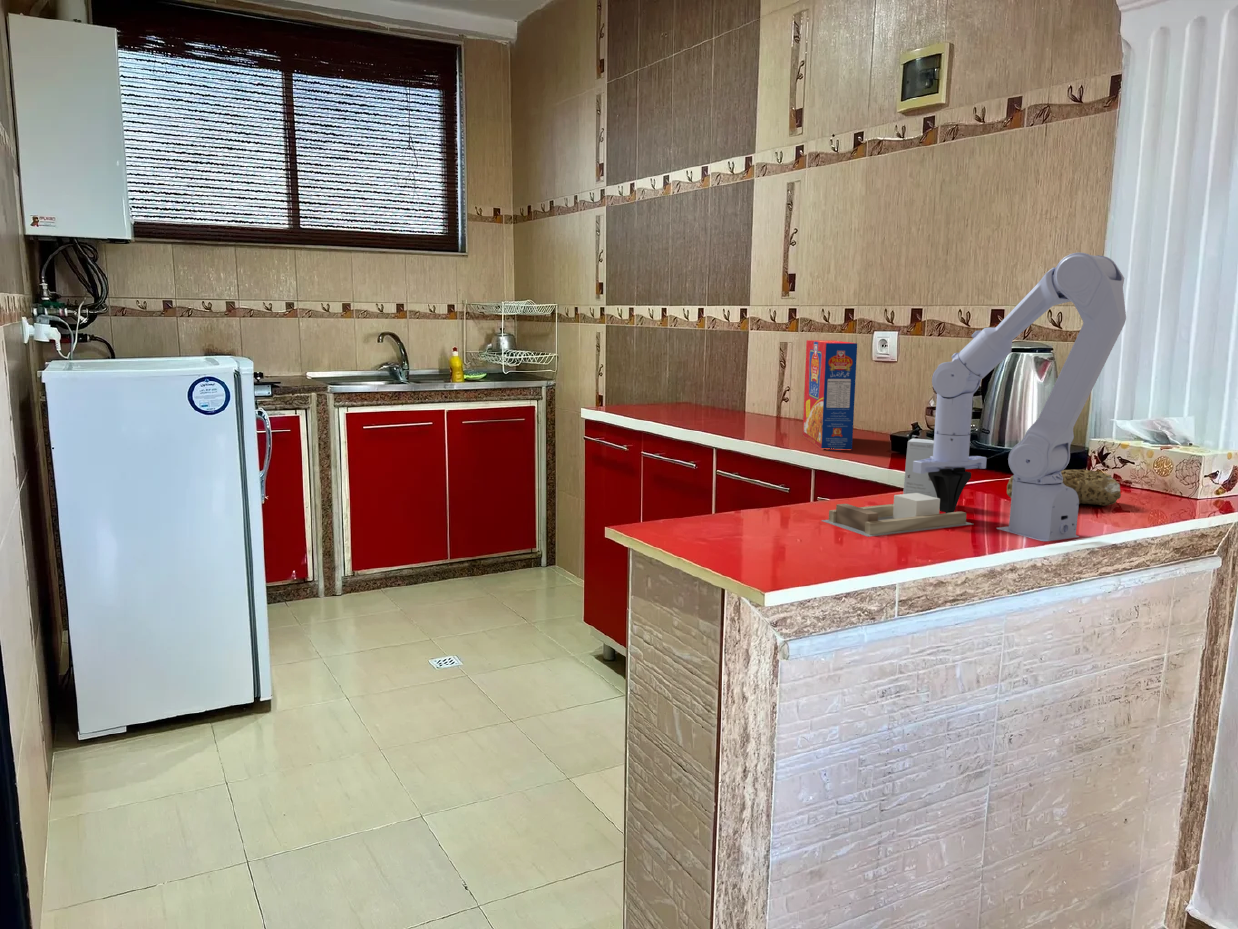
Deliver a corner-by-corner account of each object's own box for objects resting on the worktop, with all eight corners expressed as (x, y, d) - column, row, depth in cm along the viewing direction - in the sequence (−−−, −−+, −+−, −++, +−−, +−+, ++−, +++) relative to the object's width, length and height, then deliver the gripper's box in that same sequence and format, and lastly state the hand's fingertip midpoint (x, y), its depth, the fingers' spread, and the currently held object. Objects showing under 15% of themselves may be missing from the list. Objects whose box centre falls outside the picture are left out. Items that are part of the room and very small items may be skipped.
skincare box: (901, 505, 164) (905, 440, 162) (906, 501, 168) (910, 437, 166) (936, 509, 161) (940, 443, 159) (940, 504, 165) (945, 440, 163)
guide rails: (965, 523, 147) (966, 505, 147) (869, 534, 139) (870, 516, 139) (920, 511, 157) (922, 494, 156) (828, 520, 149) (829, 503, 148)
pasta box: (802, 436, 260) (806, 340, 256) (830, 436, 260) (834, 340, 256) (821, 450, 233) (826, 343, 228) (851, 450, 233) (857, 343, 228)
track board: (973, 527, 147) (973, 523, 147) (867, 540, 138) (868, 536, 138) (921, 512, 158) (922, 509, 158) (820, 523, 149) (820, 520, 149)
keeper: (938, 522, 148) (940, 498, 148) (915, 524, 146) (916, 501, 146) (915, 515, 153) (917, 492, 152) (892, 518, 151) (894, 495, 150)
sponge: (1096, 505, 172) (992, 481, 174) (1112, 469, 169) (1005, 444, 171) (1118, 533, 160) (1006, 506, 162) (1135, 494, 157) (1020, 467, 159)
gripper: (966, 428, 157) (961, 504, 159) (902, 432, 151) (897, 510, 153) (998, 433, 150) (992, 512, 152) (932, 437, 144) (927, 519, 147)
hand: (946, 512), depth 152 cm, fingers closed
